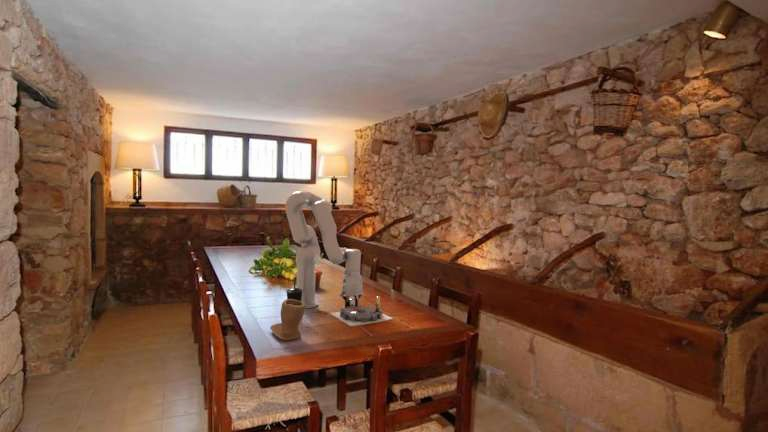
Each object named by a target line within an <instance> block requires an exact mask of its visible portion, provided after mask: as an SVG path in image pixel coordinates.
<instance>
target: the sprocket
mask: <svg viewBox="0 0 768 432" xmlns="http://www.w3.org/2000/svg"><path fill="white" fill-rule="evenodd" d="M339 312H340V316H343V319H350V320H351V321H362V322H367V321H369V320H372V321H375V320H377V318H380V319H381V318H382V315H383V314H384V312H383V310H382V309H381V296H379V295H376V296H375V307H372V306H370V305H366V306H365V305H359V304H358V305H356V306H353V307H352V306H348V307H347V308H345V307H342V308H341V309H340V311H339Z"/></svg>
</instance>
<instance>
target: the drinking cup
mask: <svg viewBox="0 0 768 432" xmlns="http://www.w3.org/2000/svg"><path fill="white" fill-rule="evenodd" d="M296 285H297V276H294V277H293V287H291V288H289V289H286V300H287V299H293V300H297V301H301V299H302V292H303V290H302V289H299V288H297V287H296Z"/></svg>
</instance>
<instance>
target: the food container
mask: <svg viewBox="0 0 768 432" xmlns="http://www.w3.org/2000/svg"><path fill="white" fill-rule="evenodd" d="M295 274H296V275H297V271H296V272H295ZM322 275H323V272H322V271H321V270H320V269H318V268H317V269H316V268H315V291H316V290H318V289H320V284H321V278H322Z"/></svg>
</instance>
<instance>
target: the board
mask: <svg viewBox="0 0 768 432" xmlns="http://www.w3.org/2000/svg"><path fill="white" fill-rule="evenodd" d="M330 316H332V317H334V318H336V320H339V321H341V322H342V323H344V324H346V325H348V326H349V327H351V328H352V327H357V326H358V327H359V326H362V325H370V324H375V323H381V322H389V321H393V320H394V318H393V317H391V316H389V315H386V314H385V313H383V315H382V318H381V319H380V318H377V320H375V321H372V320H369V321H367V322H362V321H351V320H350V319H343V316H340V311H336V312H331V313H330Z"/></svg>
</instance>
